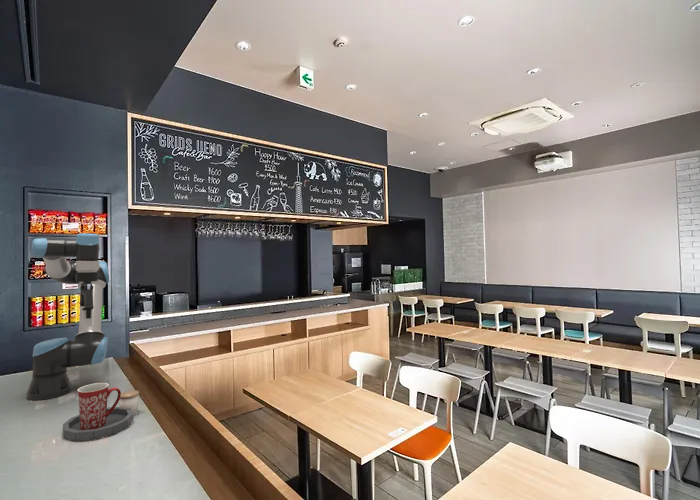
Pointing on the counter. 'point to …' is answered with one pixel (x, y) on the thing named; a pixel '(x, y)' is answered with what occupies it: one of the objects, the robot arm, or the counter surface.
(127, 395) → the pot
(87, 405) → the mug
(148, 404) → the counter surface
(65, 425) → the tray
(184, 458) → the counter surface
